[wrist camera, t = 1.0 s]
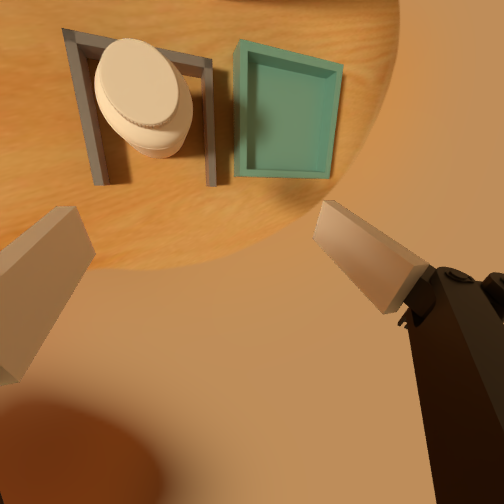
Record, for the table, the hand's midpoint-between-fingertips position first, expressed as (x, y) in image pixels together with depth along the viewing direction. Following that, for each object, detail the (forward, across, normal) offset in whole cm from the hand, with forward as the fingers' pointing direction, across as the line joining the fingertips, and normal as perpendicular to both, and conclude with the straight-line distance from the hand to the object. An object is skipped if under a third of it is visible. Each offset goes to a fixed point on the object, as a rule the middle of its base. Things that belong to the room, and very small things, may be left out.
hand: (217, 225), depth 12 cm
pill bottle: (+25, -6, +2) cm, 25 cm away
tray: (+26, +14, +4) cm, 30 cm away
